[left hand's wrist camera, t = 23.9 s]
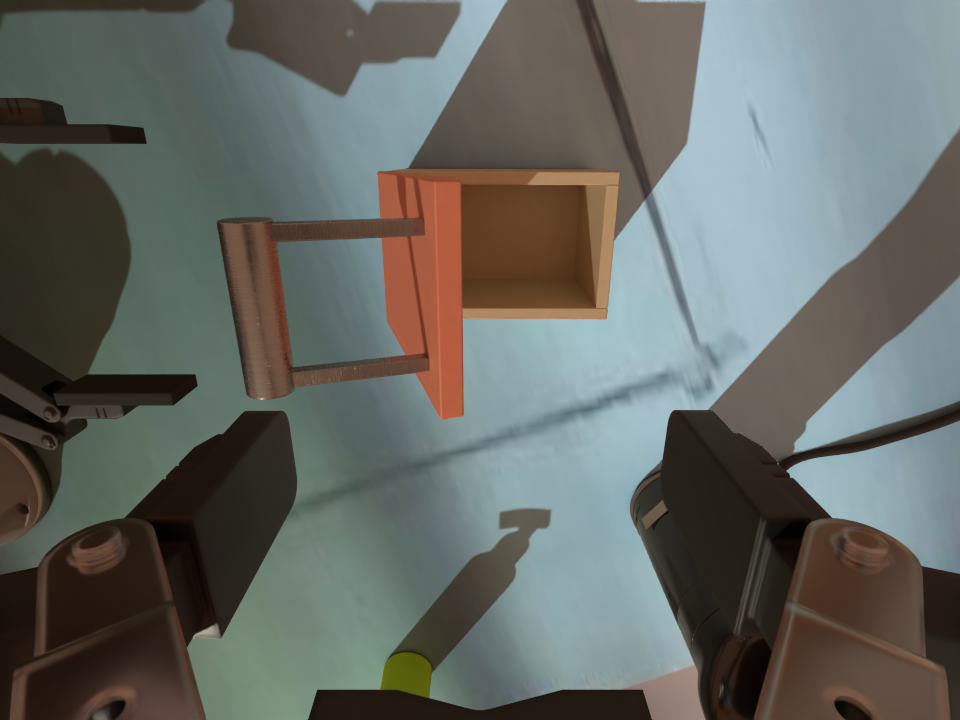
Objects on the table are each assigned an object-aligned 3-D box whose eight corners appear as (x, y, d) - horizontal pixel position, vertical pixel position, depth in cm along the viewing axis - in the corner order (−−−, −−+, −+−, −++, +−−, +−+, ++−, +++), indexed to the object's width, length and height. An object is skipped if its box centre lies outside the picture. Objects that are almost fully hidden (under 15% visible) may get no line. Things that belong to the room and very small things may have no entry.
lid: (461, 180, 20) (199, 182, 17) (464, 417, 23) (247, 448, 21) (394, 171, 34) (243, 171, 31) (402, 320, 37) (267, 332, 35)
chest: (589, 168, 44) (620, 171, 34) (580, 286, 48) (606, 319, 38) (408, 168, 44) (387, 170, 34) (413, 286, 48) (395, 319, 38)
